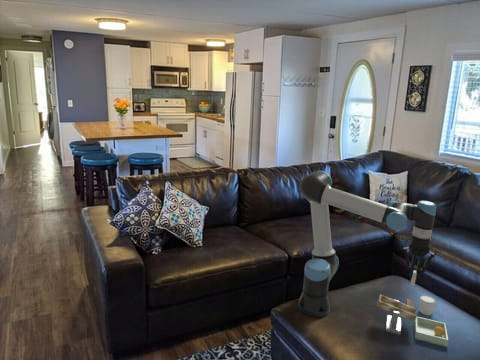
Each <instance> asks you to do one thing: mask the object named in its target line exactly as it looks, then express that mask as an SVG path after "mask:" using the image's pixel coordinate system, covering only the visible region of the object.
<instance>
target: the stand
mask: <svg viewBox="0 0 480 360" xmlns="http://www.w3.org/2000/svg"><path fill="white" fill-rule="evenodd" d="M395 300H396V301H398V302H400V300H397V299H395ZM391 313H392V312H391ZM386 315H387V316H386V327H385V332H388V333H391V334H395V335H398V336H401V334H402V318H401V316H399V312H397V311H394V313H392V315H391V314H386Z"/></svg>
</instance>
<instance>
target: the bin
mask: <svg viewBox="0 0 480 360" xmlns="http://www.w3.org/2000/svg"><path fill="white" fill-rule="evenodd" d="M413 322H414V321H413ZM413 325H414V339H415V340H418V341H420V342H425V343H429V344H433V345H436V346H440V347H444V348H448V345H449V337H448V330H447V326H446V325H447V324H446V322H441V321H439V320H438V321H437V320H434V319H429V318H425V317H420V316H418V315H417V317H416V319H415V322H414V323H413ZM437 326H439V327H442V328H443V329H444V335H443V336H437V335H436V334H435V333H434V329H435V327H437Z"/></svg>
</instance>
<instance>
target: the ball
mask: <svg viewBox="0 0 480 360" xmlns="http://www.w3.org/2000/svg"><path fill="white" fill-rule="evenodd" d="M434 333H435V334H436V335H437V336H443V335H444V329H443V328H442V327H439V326H437V327H435V329H434Z"/></svg>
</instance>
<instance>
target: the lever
mask: <svg viewBox="0 0 480 360" xmlns="http://www.w3.org/2000/svg"><path fill="white" fill-rule="evenodd" d="M396 300H397V299H393V298H390V297H388V296H385V295H382V294H381V293H380V294H379V296H378V299H377V303H376V304H377V305H376V306H377V308H380V309H382V310H384V311H387V312H389V313H394V311H397V312H399V315H398V317H400V318H401V317H402V318H404V319H406V320H408V321H411V322H415V319H416V317H417V316H418V315H416V311H417V308H415V302H414V300H412V299H410V298H406V300H405V303H406V304H405V303H403V302H401V301H399V300H398V301H399V302H398V301H396Z"/></svg>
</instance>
